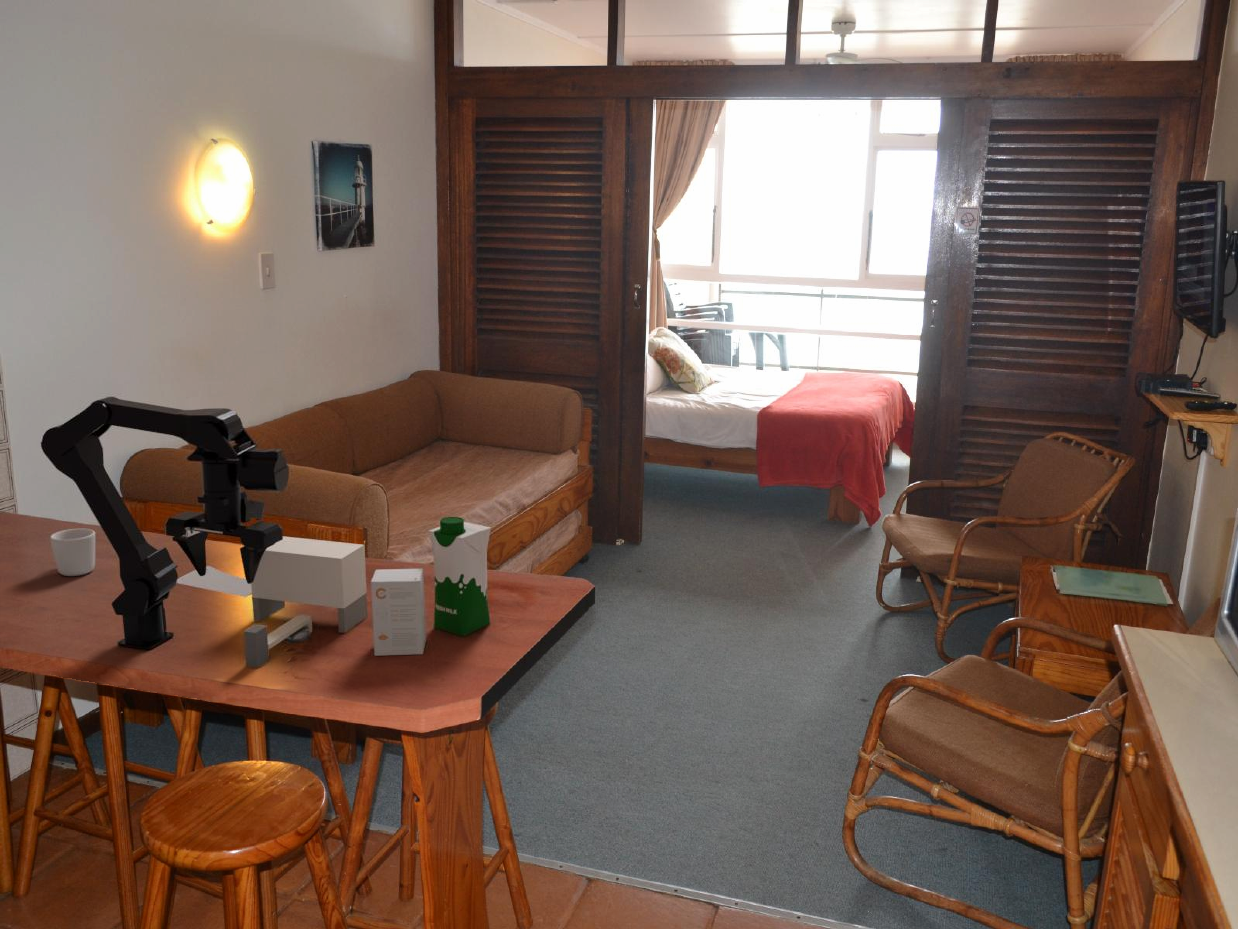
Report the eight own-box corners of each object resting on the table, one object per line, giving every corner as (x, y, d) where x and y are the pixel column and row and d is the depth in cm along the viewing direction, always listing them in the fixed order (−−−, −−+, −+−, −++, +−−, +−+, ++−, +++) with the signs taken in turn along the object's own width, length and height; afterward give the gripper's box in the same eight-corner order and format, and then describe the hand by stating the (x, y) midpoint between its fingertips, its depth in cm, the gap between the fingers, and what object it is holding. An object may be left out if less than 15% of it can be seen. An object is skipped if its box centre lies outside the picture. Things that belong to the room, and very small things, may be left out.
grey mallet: (259, 668, 169) (256, 633, 168) (245, 666, 170) (242, 631, 168) (312, 631, 184) (310, 598, 183) (299, 629, 185) (297, 597, 183)
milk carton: (426, 628, 186) (423, 519, 181) (460, 612, 193) (458, 507, 189) (464, 639, 181) (462, 527, 177) (498, 623, 189) (496, 515, 184)
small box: (426, 640, 181) (424, 567, 178) (423, 655, 175) (421, 580, 172) (378, 641, 180) (375, 568, 177) (373, 656, 174) (370, 581, 171)
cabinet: (345, 633, 183) (341, 558, 180) (253, 621, 188) (248, 548, 185) (367, 616, 191) (364, 544, 188) (279, 605, 195) (274, 535, 192)
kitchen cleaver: (163, 582, 205) (202, 561, 214) (165, 590, 206) (204, 569, 214) (289, 610, 192) (325, 586, 201) (290, 618, 193) (326, 595, 201)
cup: (56, 564, 216) (51, 526, 214) (99, 559, 219) (95, 522, 217) (53, 581, 206) (48, 542, 204) (98, 576, 209) (94, 537, 208)
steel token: (301, 645, 179) (301, 637, 178) (277, 642, 180) (277, 634, 179) (315, 635, 183) (314, 627, 183) (291, 632, 184) (291, 624, 184)
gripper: (300, 482, 176) (303, 571, 180) (205, 470, 181) (210, 557, 185) (259, 499, 166) (263, 593, 169) (159, 485, 171) (166, 577, 175)
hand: (226, 579), depth 175 cm, fingers open, 9 cm apart
